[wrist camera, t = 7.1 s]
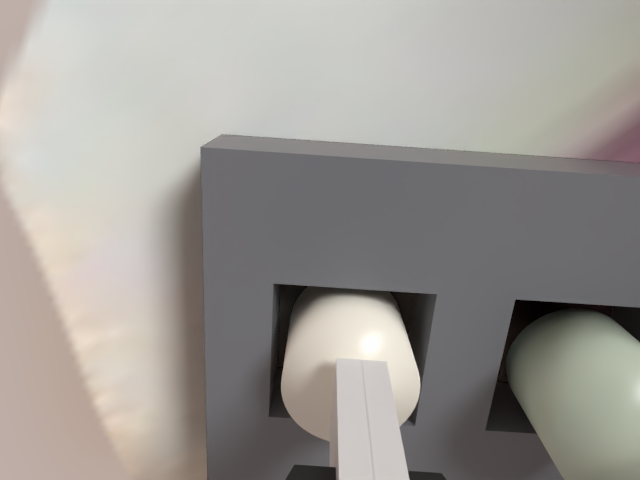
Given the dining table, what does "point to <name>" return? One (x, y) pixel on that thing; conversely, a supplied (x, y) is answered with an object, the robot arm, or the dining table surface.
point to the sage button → (580, 392)
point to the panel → (403, 284)
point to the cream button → (343, 351)
